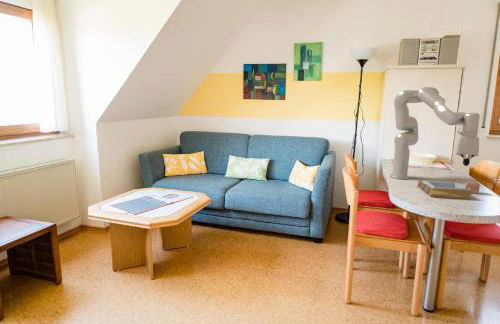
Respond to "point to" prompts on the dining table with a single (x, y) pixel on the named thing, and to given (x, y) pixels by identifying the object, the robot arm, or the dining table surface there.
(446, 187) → the grey tray
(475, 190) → the block
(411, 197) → the dining table surface
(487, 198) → the dining table surface
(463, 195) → the bay
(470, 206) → the dining table surface
